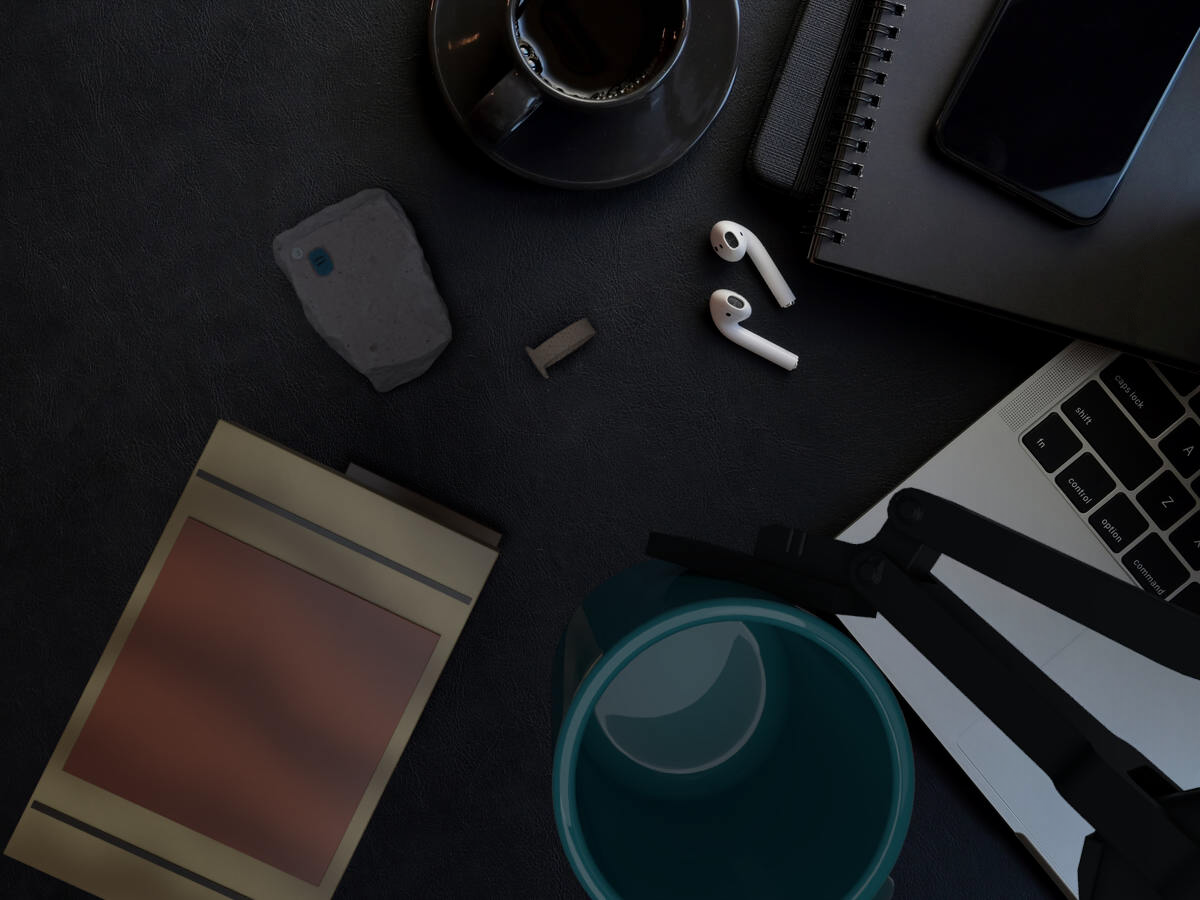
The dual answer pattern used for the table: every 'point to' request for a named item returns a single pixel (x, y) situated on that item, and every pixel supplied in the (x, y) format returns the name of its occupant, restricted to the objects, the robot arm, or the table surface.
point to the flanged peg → (560, 345)
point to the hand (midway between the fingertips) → (636, 695)
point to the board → (254, 685)
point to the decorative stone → (367, 287)
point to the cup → (722, 747)
